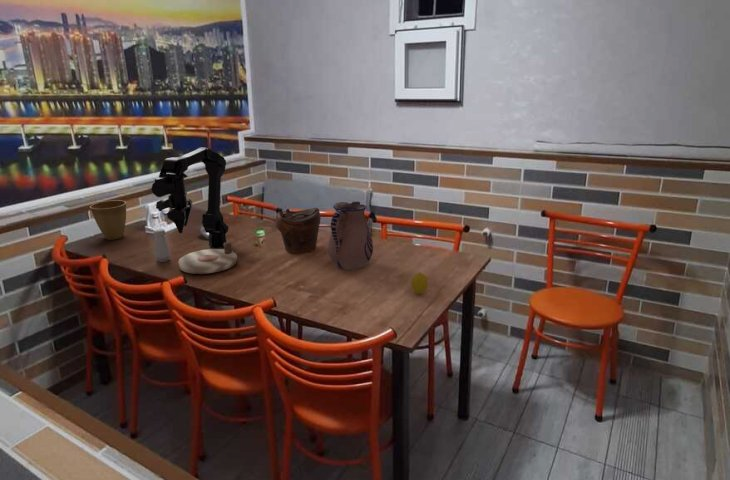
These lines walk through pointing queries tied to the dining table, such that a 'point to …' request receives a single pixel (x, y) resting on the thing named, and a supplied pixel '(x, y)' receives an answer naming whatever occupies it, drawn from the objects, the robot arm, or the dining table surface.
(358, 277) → the dining table surface
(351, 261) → the ceramic pitcher
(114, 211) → the plant pot
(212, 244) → the robot arm
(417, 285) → the lemon
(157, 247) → the salt shaker
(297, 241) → the brown tapered round container
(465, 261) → the dining table surface
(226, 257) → the lazy susan
